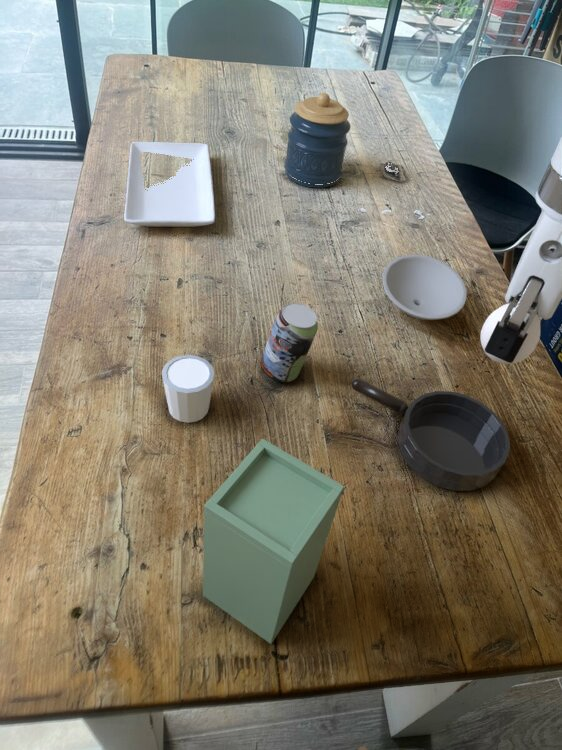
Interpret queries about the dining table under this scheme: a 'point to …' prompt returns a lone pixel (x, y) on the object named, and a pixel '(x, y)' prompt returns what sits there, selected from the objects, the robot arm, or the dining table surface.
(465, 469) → the pan
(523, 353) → the egg
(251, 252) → the dining table surface
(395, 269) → the dish
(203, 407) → the white cylinder
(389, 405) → the pan handle
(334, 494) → the stand
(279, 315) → the beverage can
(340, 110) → the canister
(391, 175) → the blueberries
